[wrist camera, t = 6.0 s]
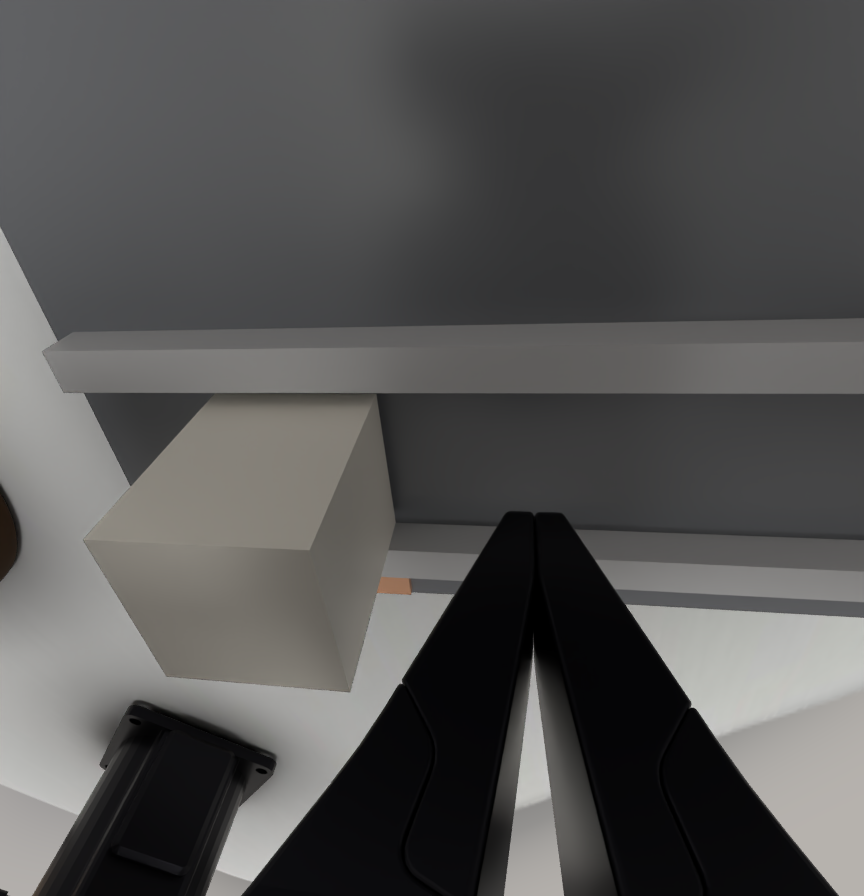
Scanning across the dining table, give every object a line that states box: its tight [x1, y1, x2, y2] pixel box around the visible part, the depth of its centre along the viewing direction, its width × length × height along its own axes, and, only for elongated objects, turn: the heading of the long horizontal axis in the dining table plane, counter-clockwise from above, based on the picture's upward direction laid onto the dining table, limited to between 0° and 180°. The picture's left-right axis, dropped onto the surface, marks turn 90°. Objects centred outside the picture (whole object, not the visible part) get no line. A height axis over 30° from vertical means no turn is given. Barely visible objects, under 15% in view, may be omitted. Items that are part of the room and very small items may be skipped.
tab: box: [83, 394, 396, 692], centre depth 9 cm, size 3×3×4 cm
